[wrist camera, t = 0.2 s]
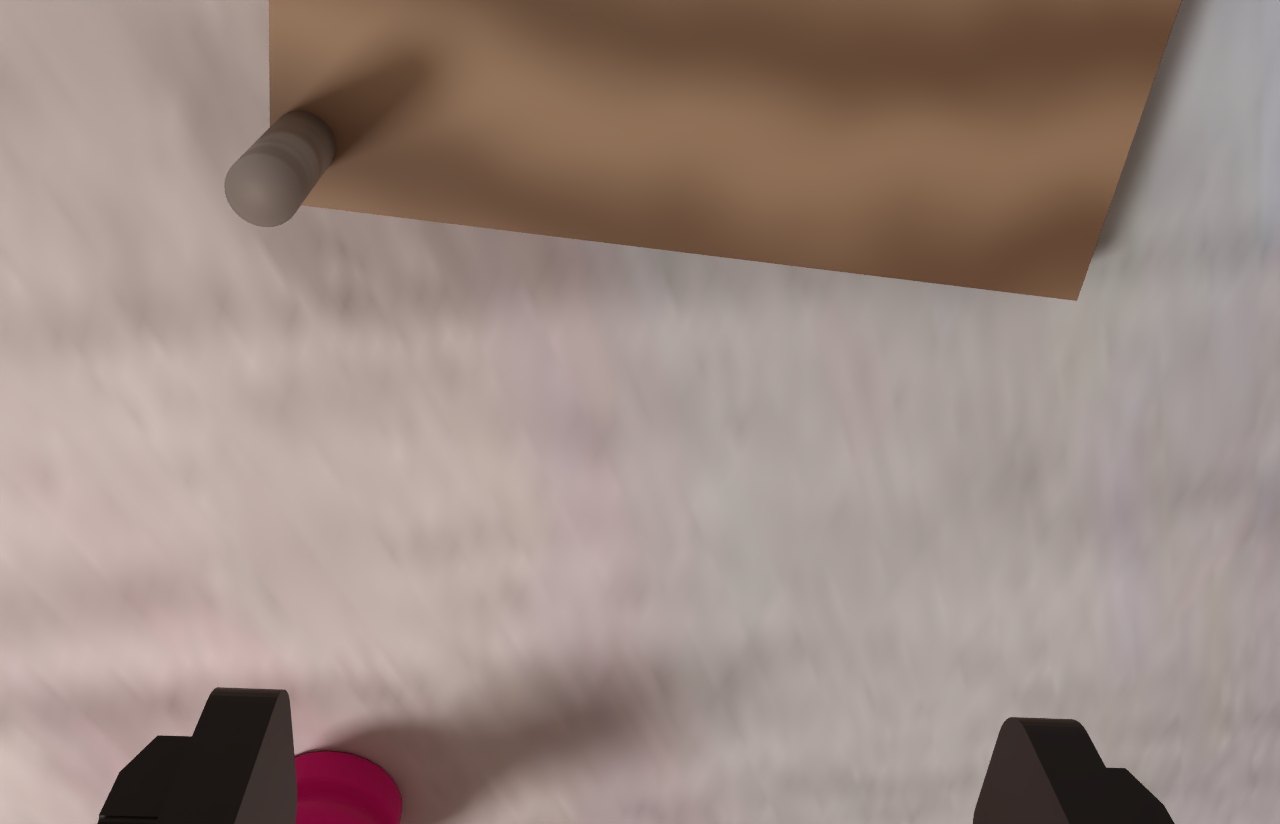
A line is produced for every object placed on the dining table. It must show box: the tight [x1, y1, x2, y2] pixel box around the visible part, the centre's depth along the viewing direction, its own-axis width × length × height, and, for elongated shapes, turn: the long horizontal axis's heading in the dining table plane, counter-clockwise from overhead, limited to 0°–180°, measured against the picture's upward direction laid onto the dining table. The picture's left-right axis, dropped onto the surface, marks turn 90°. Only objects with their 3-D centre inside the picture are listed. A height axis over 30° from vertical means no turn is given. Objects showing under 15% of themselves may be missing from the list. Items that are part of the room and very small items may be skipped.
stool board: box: [225, 0, 1182, 301], centre depth 33 cm, size 15×27×8 cm, turn 82°
